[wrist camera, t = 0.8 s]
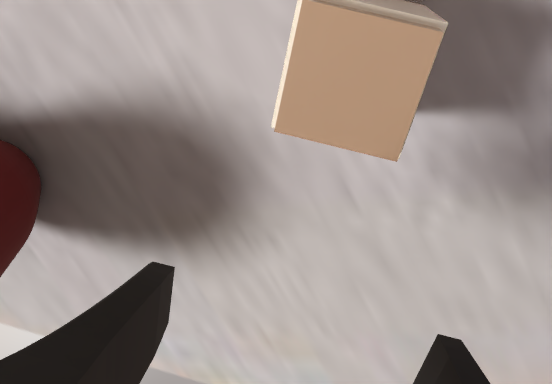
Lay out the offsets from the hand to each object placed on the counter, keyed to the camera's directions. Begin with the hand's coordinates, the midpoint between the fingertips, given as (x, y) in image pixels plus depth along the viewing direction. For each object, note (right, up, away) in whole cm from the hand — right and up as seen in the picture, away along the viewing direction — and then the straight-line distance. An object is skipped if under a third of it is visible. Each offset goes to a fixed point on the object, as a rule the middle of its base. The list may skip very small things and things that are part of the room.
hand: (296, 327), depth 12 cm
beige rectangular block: (+3, +10, +7) cm, 12 cm away
